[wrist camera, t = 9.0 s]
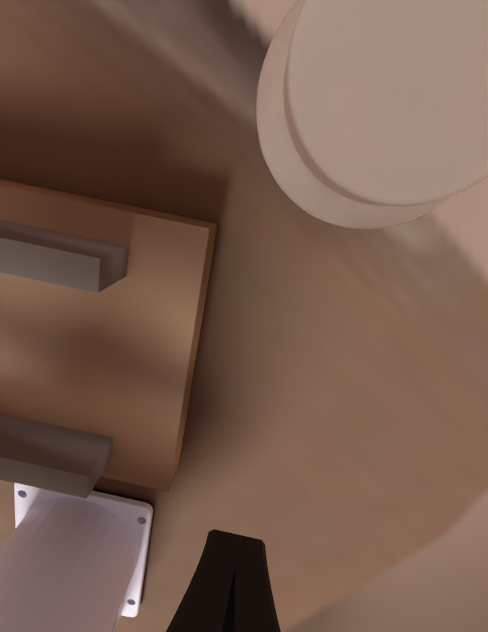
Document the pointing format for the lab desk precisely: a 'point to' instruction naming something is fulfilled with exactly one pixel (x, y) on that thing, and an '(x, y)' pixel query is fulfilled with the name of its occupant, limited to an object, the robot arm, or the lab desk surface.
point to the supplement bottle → (376, 107)
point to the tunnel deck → (96, 338)
